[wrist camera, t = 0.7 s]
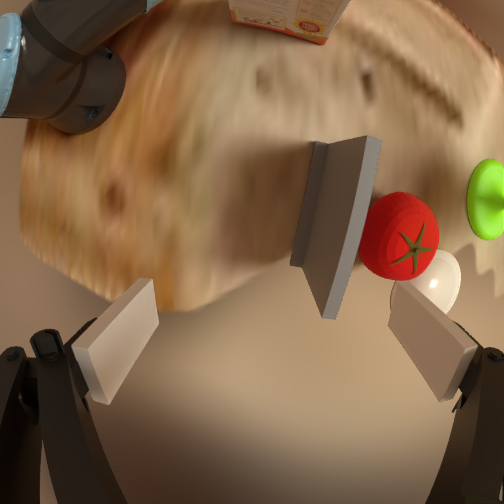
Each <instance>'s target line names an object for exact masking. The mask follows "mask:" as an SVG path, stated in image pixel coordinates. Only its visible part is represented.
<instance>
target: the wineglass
mask: <svg viewBox="0 0 504 504" xmlns="http://www.w3.org/2000/svg"><path fill="white" fill-rule="evenodd" d="M467 211H468V218H469V221H470V224H471V227H472V229H473V231H474V232H475V234H476V235H477V236H478V237H479V238H481V239H483V240H487V241H488V240H493V239H495V238H497V237H498V236H500V235H501V234H502V233H503V232H504V166H503V165H502V164H501V163H500V162H498V161H496V160H494V159H487V160H484V161H482V162H481V163H480V164H479V165H478V166H477V167H476V169H475V171H474V172H473V174H472V177H471V180H470V183H469V187H468V194H467Z"/></svg>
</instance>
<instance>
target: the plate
mask: <svg viewBox="0 0 504 504" xmlns="http://www.w3.org/2000/svg"><path fill="white" fill-rule="evenodd" d="M397 282H410V283H411V284H412V285H413V286H414V287H416V288H417V289H418V290H419V291H420V292H421V293H422V294H424V295H425V296H426V297H427V298H428V299H429V300H430V301H431V302H433V303H434V304H435V305H436V306H437V307H438V308H439V309H440V310H441V311H443V312H444V313H445V314H446V313H447V312H448V311H449V309H450V308H451V307H452V305H453V303H454V302H455V299H456V297H457V295H458V292H459V288H460V282H461V274H460V268H459V265H458V262H457V260H456V259H455V258H454V257H453V256H452V255H451V254H450V253H448V252H447V251H445V250H442V249H437V251H436V253H435V256H434V258H433V260H432V261H431V263H430V264H429V266H428V267H427V269H426V270H425V271H424V272H423V273H422V274H420V275H419V276H418V277H416V278H413V279H411V280H406V281H397V280H395V283H394V285H393V288H392V292H391V297H390V309H391V310H392V305H393V301H394V296H395V291H396V286H397Z"/></svg>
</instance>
